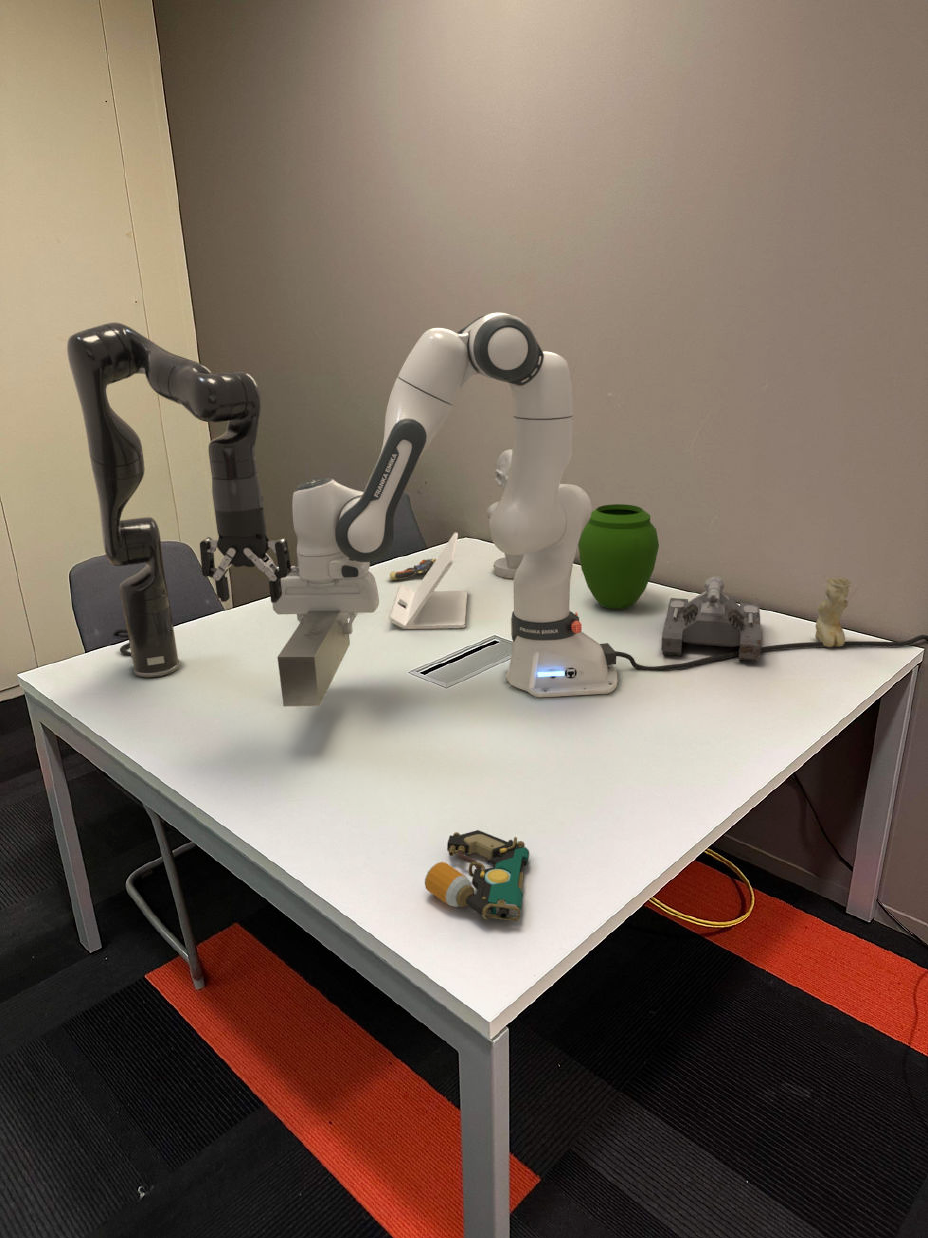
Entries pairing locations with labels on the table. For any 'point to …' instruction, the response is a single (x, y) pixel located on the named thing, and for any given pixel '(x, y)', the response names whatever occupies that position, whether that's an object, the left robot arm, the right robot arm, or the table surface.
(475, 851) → the spray gun
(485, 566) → the table surface
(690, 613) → the toy
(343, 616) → the box
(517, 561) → the bust sculpture
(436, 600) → the tablet stand
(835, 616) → the sculpture
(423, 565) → the toy gun
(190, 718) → the table surface
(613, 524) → the vase
